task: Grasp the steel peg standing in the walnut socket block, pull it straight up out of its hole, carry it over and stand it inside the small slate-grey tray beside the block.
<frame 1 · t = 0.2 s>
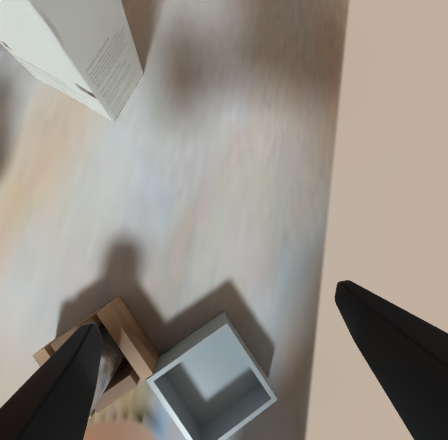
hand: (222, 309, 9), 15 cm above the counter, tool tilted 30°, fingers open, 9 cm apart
tray: (211, 369, 23), on the counter
skincare box: (95, 77, 24), on the counter
socket block: (108, 346, 23), on the counter
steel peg: (88, 372, 19), in the socket block
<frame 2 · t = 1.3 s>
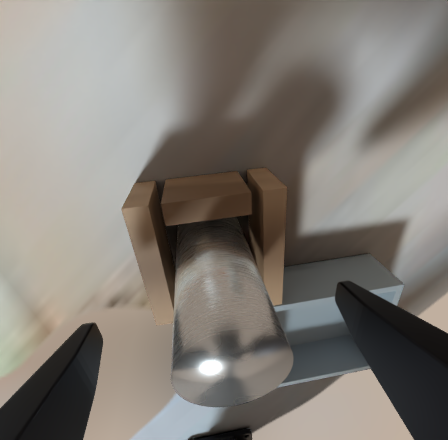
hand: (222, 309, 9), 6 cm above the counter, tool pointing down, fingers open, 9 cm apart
tray: (308, 305, 18), on the counter
socket block: (208, 231, 14), on the counter
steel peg: (217, 278, 11), in the socket block
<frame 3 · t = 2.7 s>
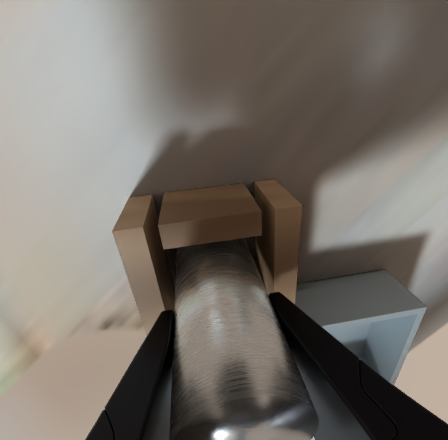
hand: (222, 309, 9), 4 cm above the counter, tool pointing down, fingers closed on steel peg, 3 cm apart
tray: (318, 324, 17), on the counter
socket block: (211, 248, 13), on the counter
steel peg: (222, 308, 9), in the socket block, touching gripper
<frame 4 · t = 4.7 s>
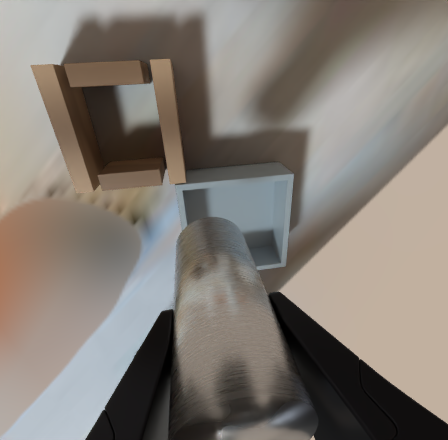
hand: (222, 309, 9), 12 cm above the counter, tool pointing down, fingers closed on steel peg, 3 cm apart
tray: (230, 212, 21), on the counter
socket block: (129, 124, 16), on the counter
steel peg: (221, 307, 9), point 12 cm above the counter, touching gripper
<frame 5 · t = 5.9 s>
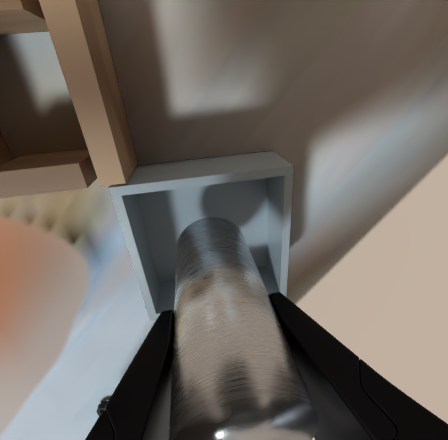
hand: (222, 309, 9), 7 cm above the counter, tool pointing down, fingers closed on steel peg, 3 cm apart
tray: (208, 223, 15), on the counter
socket block: (42, 98, 11), on the counter
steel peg: (222, 307, 9), point 6 cm above the counter, touching gripper
when the fingers open (6 cm above the counter, at t = 6.7 s): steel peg drops 1 cm, resting on tray.
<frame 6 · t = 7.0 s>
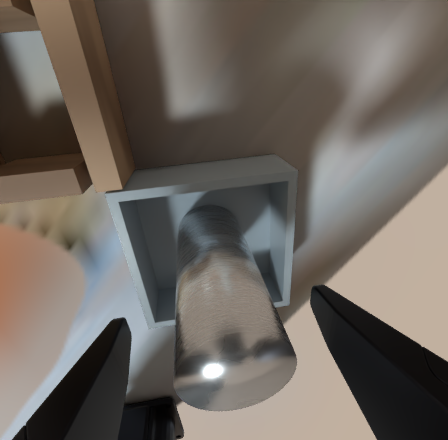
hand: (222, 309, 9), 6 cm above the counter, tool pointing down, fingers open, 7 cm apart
tray: (208, 228, 14), on the counter
socket block: (36, 100, 10), on the counter
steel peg: (218, 280, 11), in the tray
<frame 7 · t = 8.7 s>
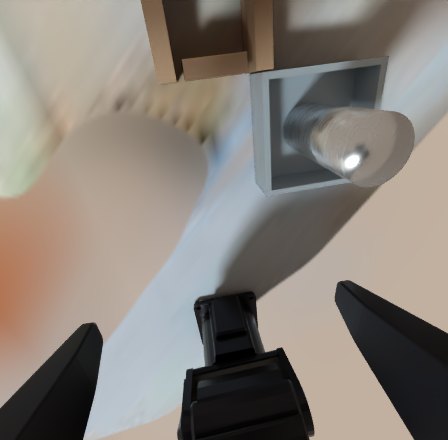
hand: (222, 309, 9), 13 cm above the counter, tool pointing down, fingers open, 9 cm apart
tray: (302, 126, 19), on the counter
socket block: (204, 15, 15), on the counter
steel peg: (333, 137, 15), in the tray
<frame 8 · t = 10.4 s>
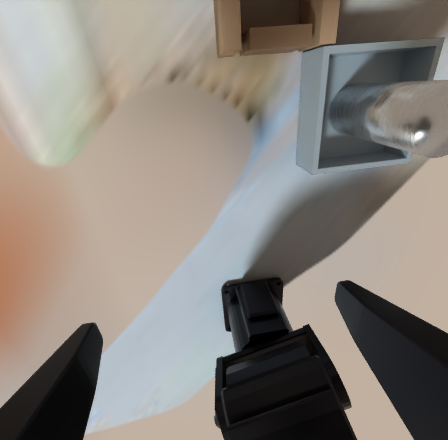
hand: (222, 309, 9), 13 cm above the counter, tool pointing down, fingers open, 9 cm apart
tray: (346, 109, 19), on the counter
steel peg: (388, 114, 15), in the tray
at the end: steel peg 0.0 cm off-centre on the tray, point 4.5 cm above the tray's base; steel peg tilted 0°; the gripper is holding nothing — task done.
